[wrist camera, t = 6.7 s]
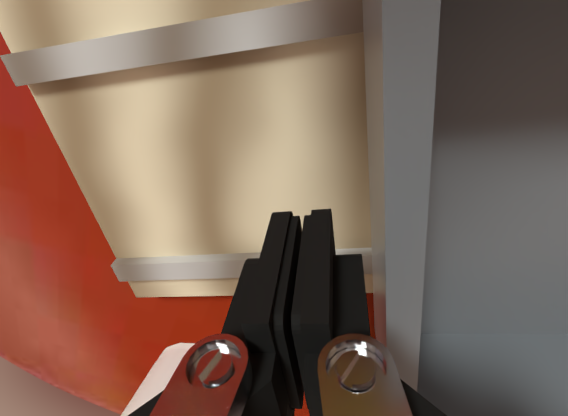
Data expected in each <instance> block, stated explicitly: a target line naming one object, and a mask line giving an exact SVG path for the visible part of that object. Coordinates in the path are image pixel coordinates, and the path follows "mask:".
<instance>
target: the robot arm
mask: <svg viewBox="0 0 568 416" xmlns="http://www.w3.org/2000/svg"><path fill="white" fill-rule="evenodd" d="M304 393H305V398H306V403H307V407H308V409H309V413H310V416H447V415H446V414H444V413H443V412H442V411H440V410H439V409H438V408H437V407H435V406H434V405H433V404H432V403H430V402H429V401H428V400H427V399H425V398H424V397H423V396H422V395H420V394H419V393H418V392H417V391H415V390H414V389H413V388H411V387H410V386H409V385H408V384H406V383H405V382H404V381H403V380H401V379H400V377H399V374H398V371H397V368H396V365H395V362H394V359H393V357H392V356H391V354H390V352H389V350H388V349H387V348H386V347H385V346H384V345H383V344H382V343H381V342H380V341H378V340H376V339H374V338H372V337H371V336H370V327H369V318H368V308H367V298H366V289H365V279H364V269H363V260H362V254H345V255H336V251H335V241H334V231H333V220H332V211H331V209H317V210H311V215H305V216H304V221H303V228H302V227H301V220H300V216H293V213H292V211H285V212H273V213H272V214H271V218H270V221H269V225H268V229H267V232H266V236H265V239H264V243H263V246H262V250H261V254H260V257H259V258H248V259H247V260H246V261H245V263H244V265H243V268H242V271H241V274H240V277H239V281H238V284H237V287H236V290H235V293H234V296H233V299H232V302H231V305H230V308H229V311H228V314H227V317H226V320H225V323H224V326H223V329H222V332H221V334H215V335H211V336H208V337H206V338H204V339H202V340H200V341H198V342H197V343H196V344H194V345H193V346H192V347H191V348H190V349H189V350H188V351H187V352H186V354H185V355H184V356H183V358H182V360H181V361H180V363H179V365H178V367H177V368H176V370H175V372H174V374H173V375H172V377H171V379H170V381H169V382H168V384H167V386H166V388H165V389H164V390H163V391H162V392H160V393H159V394H158V395H156V396H155V397H153V398H152V399H151V400H149V401H148V402H146V403H145V404H143V405H142V406H141V407H139V408H138V409H136V410H135V411H133V412H132V413H131V414H129V415H128V416H294V411H295V408H296V409H302V406H303V395H304Z"/></svg>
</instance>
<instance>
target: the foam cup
mask: <svg viewBox="0 0 568 416" xmlns="http://www.w3.org/2000/svg"><path fill="white" fill-rule="evenodd" d="M193 345H194V343H178V344H175V345H172V346H169V347H166V348H165V350H164V351H163V352H162V354H161V355H160V356H159V358H158V360H157V361H156V362H155V364H154V365H153V367H152V368H151V370H150V371H149V373H148V374H147V376H146V378H145V379H144V381H143V382H142V384H141V385H140V387H139V388H138V390H137V391H136V393H135V394H134V396H133V398H132V399H131V401H130V402H129V404H128V405H127V407H126V408H125V410H124V411H123V413H122V414H121V416H128V415H129V414H131V413H132V412H133V411H135V410H136V409H138V408H139V407H141V406H142V405H143V404H145V403H146V402H148V401H149V400H151V399H152V398H153V397H155V396H156V395H158V394H159V393H160V392H162V391H163V390H164V389H165V388H166V386H167V384H168V382H169V381H170V379H171V377H172V375H173V374H174V372H175V370H176V368H177V367H178V365H179V363H180V361H181V360H182V358H183V356H184V355H185V354H186V352H187V351H188V350H189V349H190V348H191V347H192V346H193Z"/></svg>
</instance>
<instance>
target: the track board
mask: <svg viewBox="0 0 568 416" xmlns="http://www.w3.org/2000/svg"><path fill="white" fill-rule="evenodd" d="M0 32H1V34H2V36H3V38H4V40H5V42H6V43H7V45H8V47H9V49H10V51H11V54H6V55H1V56H0V57H1V59H2V61H3V62H4V64H5V66H6V68H7V70H8V72H9V74H10V76H11V78H12V79H13V81H14V83H15V85H16V86H21V85H28V87H29V88H30V90H31V92H32V94H33V96H34V98H35V100H36V102H37V104H38V106H39V108H40V110H41V112H42V114H43V116H44V118H45V120H46V122H47V124H48V126H49V128H50V130H51V132H52V133H53V135H54V137H55V139H56V141H57V143H58V145H59V147H60V149H61V151H62V153H63V155H64V157H65V159H66V161H67V163H68V165H69V167H70V169H71V171H72V173H73V175H74V176H75V178H76V180H77V182H78V184H79V186H80V188H81V190H82V192H83V194H84V196H85V198H86V200H87V202H88V204H89V206H90V208H91V210H92V212H93V214H94V216H95V218H96V220H97V221H98V223H99V225H100V227H101V229H102V231H103V233H104V235H105V237H106V239H107V241H108V243H109V245H110V247H111V249H112V251H113V253H114V255H115V257H116V260H115V261H114V262H113V263H112V265H111V267H112V269H113V271H114V272H115V274H116V276H117V278H118V280H119V281H128V282H129V284H130V286H131V288H132V290H133V292H134V294H135V296H136V297H181V296H233V295H234V293H235V290H236V287H237V284H238V281H239V277H240V274H241V271H242V268H243V265H244V263H245V261H246V260H247V259H248V258H259V257H260V254H261V250H262V246H263V243H264V239H265V236H266V232H267V229H268V225H269V221H270V218H271V214H272V213H273V212H285V211H292V213H293V216H300V220H301V227H302V228H303V221H304V216H305V215H311V210H317V209H331V211H332V220H333V231H334V241H335V251H336V255H345V254H362V260H363V269H364V279H365V289H366V293H373V271H372V245H371V218H370V191H369V165H368V138H367V111H366V84H365V58H364V31H363V4H362V0H0Z"/></svg>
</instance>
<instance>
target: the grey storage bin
mask: <svg viewBox="0 0 568 416" xmlns="http://www.w3.org/2000/svg"><path fill="white" fill-rule="evenodd" d="M362 4H363V31H364V58H365V84H366V111H367V138H368V165H369V191H370V218H371V245H372V271H373V298H374V325H375V336H376V340H378V341H380V342H381V343H382V344H383V345H384V346H385V347H386V348H387V349H388V350H389V352H390V354H391V356H392V357H393V359H394V362H395V365H396V368H397V371H398V374H399V377H400V379H401V380H403V381H404V382H405V383H406V384H408V385H409V386H410V387H411V388H413V389H414V390H415V391H417V392H418V393H419V394H420V395H422V396H423V397H424V398H425V399H427V400H428V401H429V402H430V403H432V404H433V405H434V406H435V407H437V408H438V409H439V410H440V411H442V412H443V413H444V414H446V415H447V416H568V0H362Z"/></svg>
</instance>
